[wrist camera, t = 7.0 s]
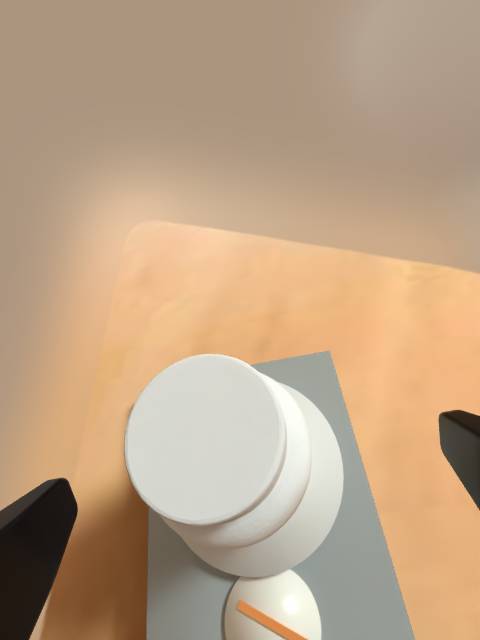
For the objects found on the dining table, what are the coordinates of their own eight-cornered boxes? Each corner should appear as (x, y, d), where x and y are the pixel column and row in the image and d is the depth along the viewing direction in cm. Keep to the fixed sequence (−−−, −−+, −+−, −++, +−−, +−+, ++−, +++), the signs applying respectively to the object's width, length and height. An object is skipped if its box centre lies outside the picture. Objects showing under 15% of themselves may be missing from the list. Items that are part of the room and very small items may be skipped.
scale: (413, 666, 14) (435, 696, 12) (163, 695, 15) (138, 728, 12) (326, 363, 21) (330, 346, 19) (162, 392, 22) (146, 379, 20)
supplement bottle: (210, 406, 18) (136, 320, 10) (311, 420, 17) (326, 336, 8) (186, 519, 16) (58, 537, 7) (303, 544, 14) (313, 600, 6)
